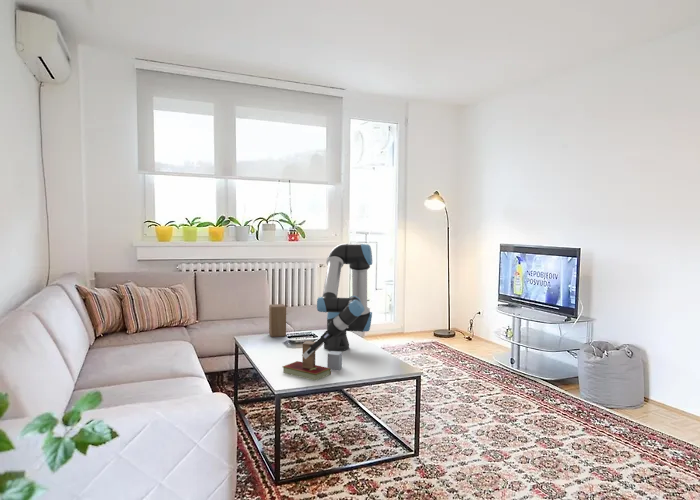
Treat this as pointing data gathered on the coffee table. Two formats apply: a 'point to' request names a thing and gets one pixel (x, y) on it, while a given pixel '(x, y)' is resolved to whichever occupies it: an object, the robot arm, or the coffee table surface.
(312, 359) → the walnut block
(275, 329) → the block
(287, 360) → the coffee table surface
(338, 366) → the grey block
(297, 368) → the hardcover book
